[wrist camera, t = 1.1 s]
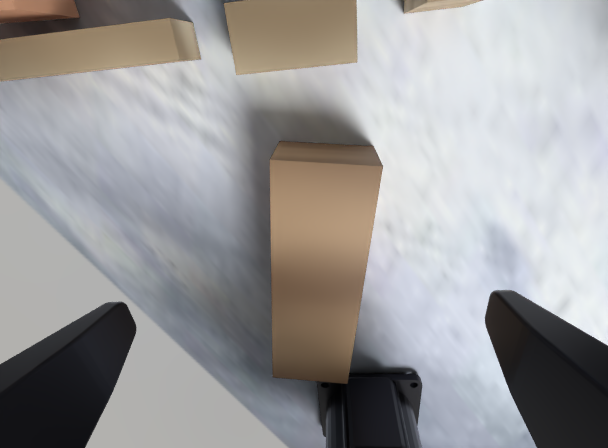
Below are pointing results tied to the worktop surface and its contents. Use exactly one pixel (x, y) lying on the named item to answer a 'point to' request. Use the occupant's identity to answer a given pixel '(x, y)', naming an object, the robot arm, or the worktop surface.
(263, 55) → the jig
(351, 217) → the tan wooden block
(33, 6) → the salmon pink cuboid
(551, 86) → the worktop surface
